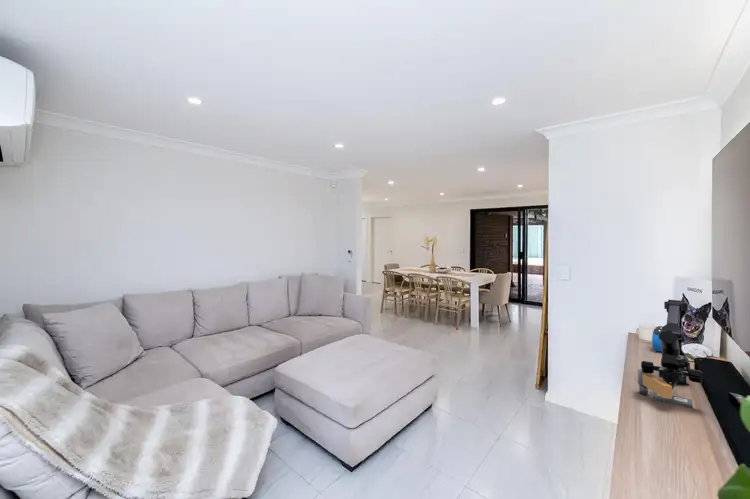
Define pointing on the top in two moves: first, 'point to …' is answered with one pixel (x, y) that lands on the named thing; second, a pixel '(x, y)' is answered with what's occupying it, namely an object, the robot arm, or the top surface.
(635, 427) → the top surface
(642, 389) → the grey grooved cylinder
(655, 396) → the label plate
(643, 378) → the swing bar
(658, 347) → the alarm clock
